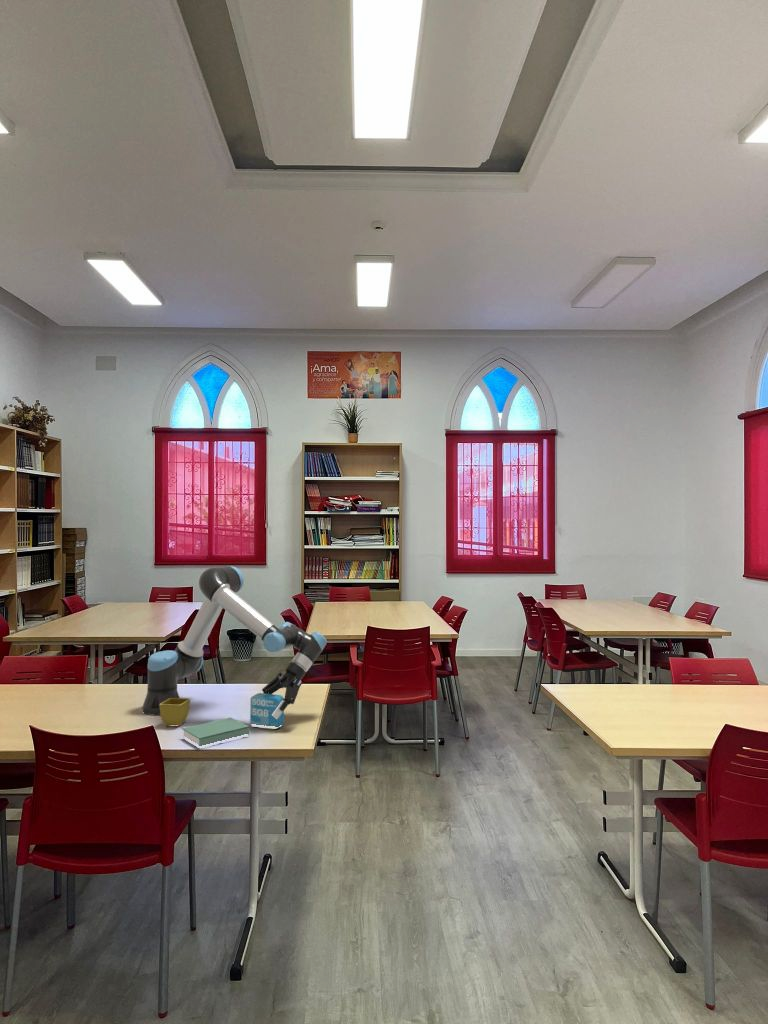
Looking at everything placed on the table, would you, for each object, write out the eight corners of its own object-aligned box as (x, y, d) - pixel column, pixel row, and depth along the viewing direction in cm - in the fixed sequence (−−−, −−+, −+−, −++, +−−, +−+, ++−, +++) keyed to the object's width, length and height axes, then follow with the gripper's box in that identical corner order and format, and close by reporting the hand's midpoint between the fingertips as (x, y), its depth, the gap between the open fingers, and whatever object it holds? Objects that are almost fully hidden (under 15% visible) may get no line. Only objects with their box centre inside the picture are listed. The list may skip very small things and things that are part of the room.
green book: (182, 739, 217) (182, 728, 217) (230, 728, 230) (230, 717, 230) (199, 750, 207) (199, 738, 207) (249, 737, 220) (249, 726, 220)
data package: (249, 727, 230) (250, 695, 230) (255, 723, 234) (256, 692, 235) (278, 730, 226) (278, 698, 227) (283, 726, 231) (284, 695, 231)
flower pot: (158, 727, 229) (158, 703, 229) (169, 720, 238) (169, 697, 238) (180, 729, 228) (180, 704, 228) (190, 721, 237) (191, 698, 237)
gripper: (322, 678, 233) (288, 726, 222) (287, 667, 251) (254, 711, 241) (311, 666, 230) (276, 715, 219) (276, 656, 248) (242, 700, 237)
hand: (264, 713), depth 230 cm, fingers closed on data package, 12 cm apart
